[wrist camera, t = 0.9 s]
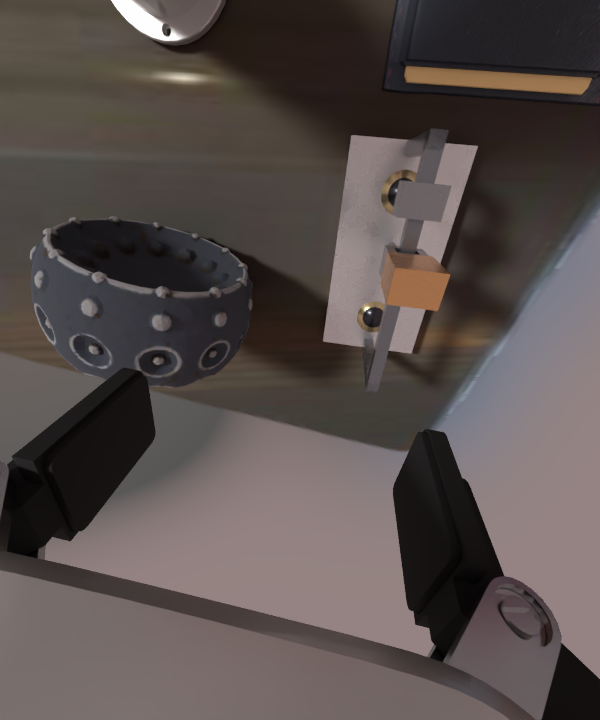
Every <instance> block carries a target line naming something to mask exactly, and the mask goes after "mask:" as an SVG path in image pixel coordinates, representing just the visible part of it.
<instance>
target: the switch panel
mask: <svg viewBox="0 0 600 720" xmlns="http://www.w3.org/2000/svg"><path fill="white" fill-rule="evenodd" d="M448 132H449V130H443V129H432V128H431V129H429V130H427V131H425V132H423V133H422V134H420V135H418V136H416V137H414V138H412V139H410V140H403V139H392V138H381V137H369V136H358V135H351V142H350V149H349V156H348V163H347V171H346V178H345V185H344V192H343V200H342V207H341V214H340V221H339V229H338V236H337V243H336V250H335V258H334V265H333V272H332V279H331V287H330V294H329V301H328V308H327V316H326V323H325V330H324V337H323V342H330V343H337V344H345V345H352V346H359V347H363V360H364V373H365V386H366V391H368V392H375V393H377V391H378V388H379V384H380V380H381V377H382V373H383V369H384V366H385V362H386V358H387V355H388V351H396V352H403V353H412V350H413V347H414V344H415V341H416V338H417V335H418V332H419V328H420V325H421V322H422V319H423V316H424V313H425V310H426V309H418V308H410V307H402V306H394V305H386V302H385V298H384V295H383V291H382V288H381V284H380V281H381V277H380V273H379V269H380V265H381V260H382V256H383V251H384V247H385V245H388V244H389V243H390V242H394V243H395V244H396V245H397V246H399V249H398V252H399V253H408V254H415V252H416V249H423V250H424V251H425V252H426V253H427V254H428V255H429V256H432V257H434V258H435V259H436V260H437V261H438V262H439V263H441V260H442V257H443V254H444V251H445V248H446V244H447V241H448V238H449V235H450V232H451V229H452V226H453V223H454V220H455V216H456V213H457V210H458V207H459V204H460V201H461V198H462V195H463V192H464V188H465V185H466V182H467V179H468V176H469V173H470V170H471V167H472V164H473V160H474V157H475V154H476V151H477V148H478V146H472V145H461V144H449V143H446V139H447V135H448Z"/></svg>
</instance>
